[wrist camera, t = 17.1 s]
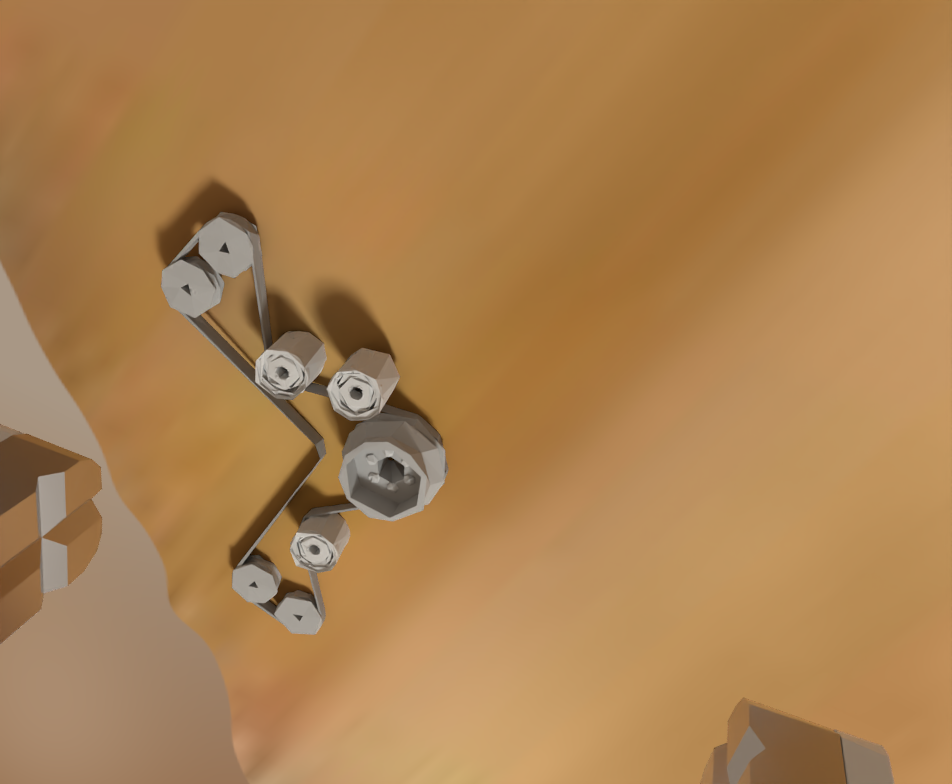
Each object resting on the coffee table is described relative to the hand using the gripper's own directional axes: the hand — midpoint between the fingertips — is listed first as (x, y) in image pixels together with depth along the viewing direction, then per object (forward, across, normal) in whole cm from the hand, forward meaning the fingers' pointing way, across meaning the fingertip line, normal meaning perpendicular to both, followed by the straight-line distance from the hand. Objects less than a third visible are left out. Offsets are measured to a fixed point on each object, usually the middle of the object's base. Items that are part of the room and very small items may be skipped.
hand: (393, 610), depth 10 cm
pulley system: (+32, +13, +20) cm, 40 cm away
